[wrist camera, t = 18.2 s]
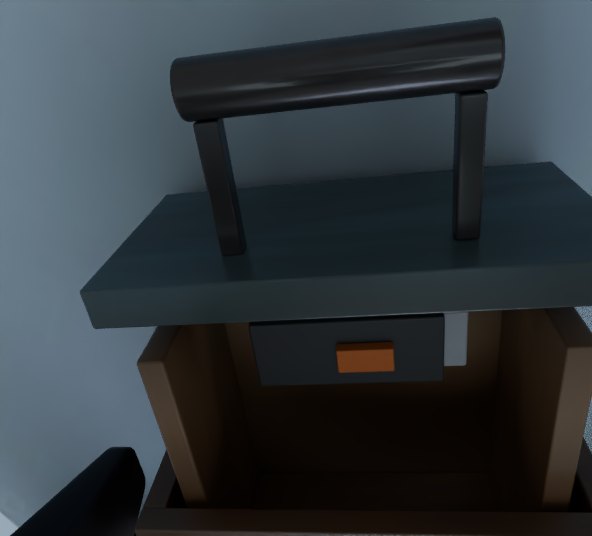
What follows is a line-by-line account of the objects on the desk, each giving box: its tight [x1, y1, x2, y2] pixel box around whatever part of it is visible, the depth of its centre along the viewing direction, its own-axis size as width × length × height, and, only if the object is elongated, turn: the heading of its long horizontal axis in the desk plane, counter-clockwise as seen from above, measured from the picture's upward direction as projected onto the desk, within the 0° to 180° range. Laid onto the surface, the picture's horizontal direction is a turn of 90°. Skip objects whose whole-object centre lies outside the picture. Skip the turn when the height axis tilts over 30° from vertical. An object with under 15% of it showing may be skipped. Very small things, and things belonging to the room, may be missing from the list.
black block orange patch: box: [248, 312, 468, 386], centre depth 17 cm, size 7×3×3 cm, turn 97°
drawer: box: [80, 17, 592, 512], centre depth 17 cm, size 19×13×7 cm
